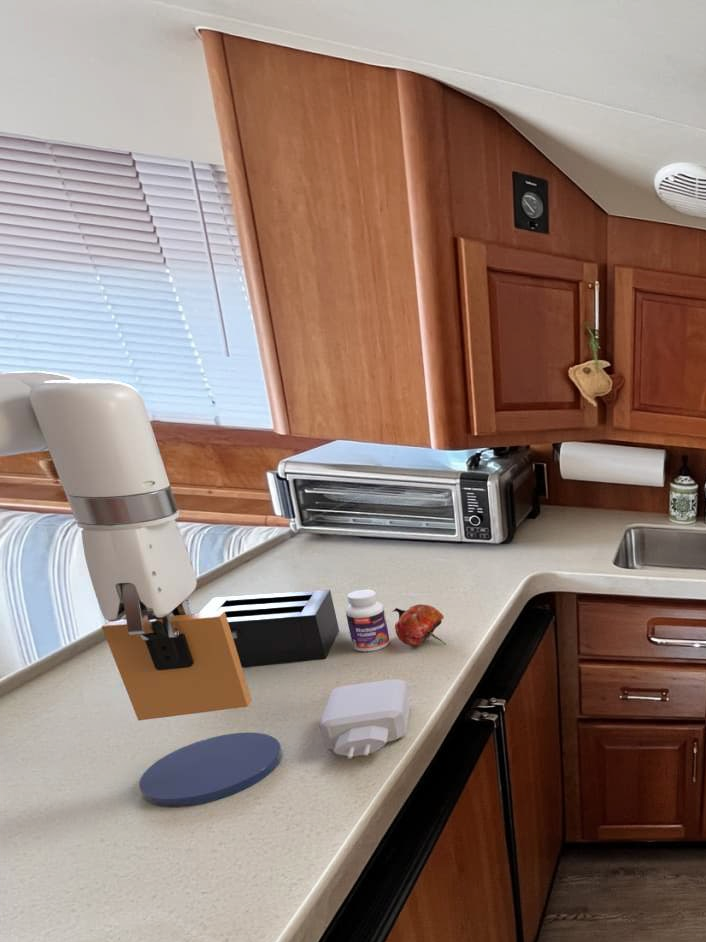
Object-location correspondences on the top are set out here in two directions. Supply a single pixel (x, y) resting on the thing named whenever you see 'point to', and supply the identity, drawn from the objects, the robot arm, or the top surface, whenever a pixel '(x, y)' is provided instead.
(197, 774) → the plate
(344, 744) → the charger
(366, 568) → the top surface
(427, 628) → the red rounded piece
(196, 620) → the toast
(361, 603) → the pill bottle
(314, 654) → the toaster
